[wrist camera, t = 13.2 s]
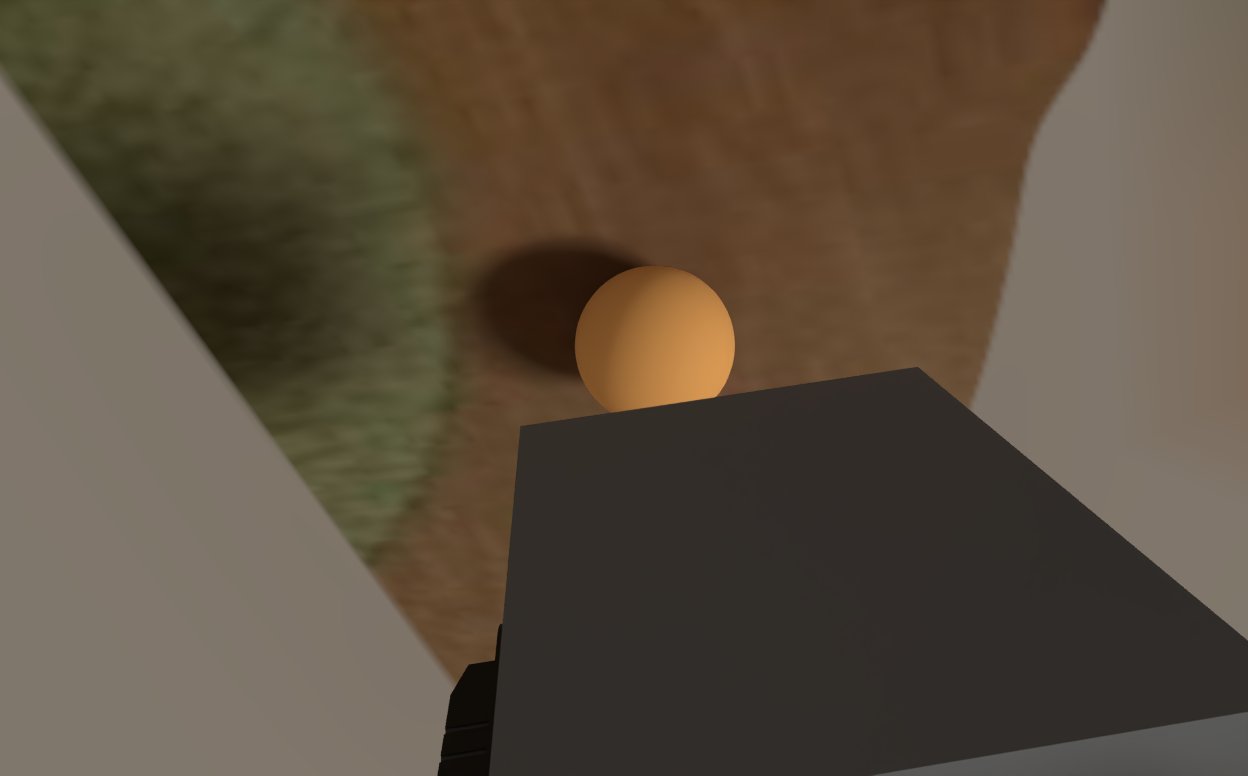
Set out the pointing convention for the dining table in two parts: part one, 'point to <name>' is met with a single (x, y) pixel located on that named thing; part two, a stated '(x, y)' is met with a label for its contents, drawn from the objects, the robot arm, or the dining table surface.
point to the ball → (654, 340)
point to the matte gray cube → (840, 603)
